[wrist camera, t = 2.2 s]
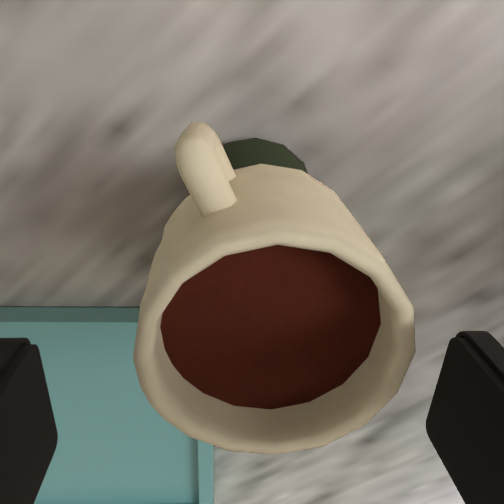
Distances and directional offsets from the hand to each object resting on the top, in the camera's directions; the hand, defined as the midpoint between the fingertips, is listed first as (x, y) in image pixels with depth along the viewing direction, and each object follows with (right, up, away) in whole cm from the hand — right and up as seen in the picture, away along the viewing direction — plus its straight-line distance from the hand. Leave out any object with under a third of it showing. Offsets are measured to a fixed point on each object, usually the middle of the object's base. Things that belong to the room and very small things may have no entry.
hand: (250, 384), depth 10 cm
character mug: (0, +6, +13) cm, 14 cm away
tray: (-12, -8, +19) cm, 23 cm away
